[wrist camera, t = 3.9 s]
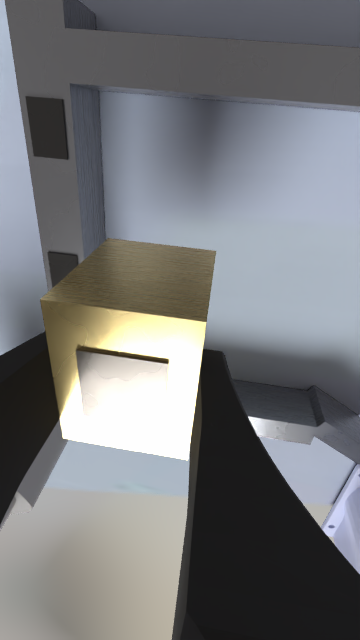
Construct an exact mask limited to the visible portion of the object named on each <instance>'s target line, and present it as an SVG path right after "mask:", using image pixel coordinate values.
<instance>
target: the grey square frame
mask: <svg viewBox="0 0 360 640" xmlns="http://www.w3.org/2000/svg"><path fill="white" fill-rule="evenodd" d="M5 5H6V12H7V18H8V25H9V32H10V39H11V45H12V52H13V59H14V65H15V72H16V79H17V85H18V92H19V99H20V105H21V112H22V119H23V126H24V132H25V139H26V146H27V152H28V159H29V166H30V172H31V179H32V186H33V192H34V199H35V206H36V213H37V219H38V226H39V233H40V239H41V246H42V253H43V259H44V266H45V273H46V279H47V286H48V292H49V291H50V290H51V289H52V288H53V287H54V286H56V285H57V284H58V283H59V282H60V281H61V280H62V279H63V278H64V277H66V276H67V275H68V274H69V273H70V272H71V271H72V270H73V269H74V268H76V267H77V266H78V265H79V264H80V263H81V262H82V261H83V260H84V259H86V258H87V257H88V256H89V255H90V254H91V253H92V252H93V251H94V250H96V249H97V248H98V247H99V246H100V245H101V244H102V243H103V242H104V241H105V220H104V197H103V175H102V152H101V130H100V107H99V91H109V92H121V93H133V94H145V95H158V96H170V97H182V98H194V99H207V100H219V101H231V102H243V103H256V104H268V105H280V106H292V107H305V108H317V109H329V110H341V111H354V112H360V48H357V47H342V46H327V45H312V44H297V43H282V42H267V41H252V40H237V39H221V38H206V37H191V36H176V35H161V34H146V33H131V32H116V31H101V30H96V18H95V13H93V12H92V11H91V10H90V9H88V8H87V7H86V6H85V5H83V4H82V3H81V2H80V1H78V0H5ZM232 381H233V384H234V386H235V389H236V391H237V394H238V396H239V398H240V401H241V403H242V405H243V408H244V410H245V412H246V414H247V416H248V418H249V420H250V422H251V424H252V426H253V428H254V430H255V432H256V433H257V435H258V436H259V437H265V438H271V439H277V440H284V441H290V442H296V443H302V444H308V445H310V444H311V442H312V440H313V437H314V436H315V437H317V438H318V439H320V440H321V441H323V442H324V443H326V444H328V445H329V446H331V447H332V448H334V449H335V450H337V451H338V452H340V453H342V454H343V455H345V456H346V457H348V458H349V459H351V460H352V461H354V462H356V463H357V464H360V417H359V416H358V415H357V414H355V413H354V412H352V411H351V410H350V409H348V408H347V407H345V406H344V405H342V404H341V403H339V402H338V401H336V400H335V399H333V398H332V397H330V396H329V395H328V394H326V393H325V392H323V391H322V390H320V389H319V388H317V387H316V386H312V387H311V388H310V389H308V390H307V391H306V390H299V389H293V388H286V387H279V386H273V385H266V384H259V383H253V382H246V381H239V380H233V379H232Z"/></svg>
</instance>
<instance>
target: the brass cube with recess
mask: <svg viewBox="0 0 360 640" xmlns="http://www.w3.org/2000/svg"><path fill="white" fill-rule="evenodd" d="M215 256H216V251H212V250H204V249H195V248H187V247H178V246H170V245H162V244H153V243H145V242H136V241H128V240H119V239H111V238H108V239H107V240H106V241H104V242H103V243H102V244H101V245H100V246H99V247H98V248H97V249H96V250H94V251H93V252H92V253H91V254H90V255H89V256H88V257H87V258H86V259H84V260H83V261H82V262H81V263H80V264H79V265H78V266H77V267H76V268H74V269H73V270H72V271H71V272H70V273H69V274H68V275H67V276H66V277H64V278H63V279H62V280H61V281H60V282H59V283H58V284H57V285H56V286H54V287H53V288H52V289H51V290H50V291H49V292H48V293H47V294H46V295H44V296H43V297H42V298H41V299H40V302H41V308H42V314H43V320H44V326H45V332H46V338H47V344H48V350H49V356H50V362H51V368H52V374H53V380H54V386H55V392H56V398H57V404H58V410H59V416H60V422H61V428H62V434H63V439H69V440H75V441H81V442H87V443H93V444H98V445H104V446H110V447H116V448H122V449H128V450H133V451H139V452H145V453H151V454H157V455H163V456H168V457H174V458H180V459H186V460H188V453H189V446H190V439H191V431H192V424H193V417H194V409H195V402H196V395H197V387H198V380H199V373H200V366H201V358H202V351H203V344H204V336H205V329H206V322H207V314H208V307H209V300H210V292H211V285H212V278H213V270H214V263H215Z"/></svg>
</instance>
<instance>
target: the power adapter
mask: <svg viewBox="0 0 360 640" xmlns="http://www.w3.org/2000/svg"><path fill="white" fill-rule="evenodd" d="M68 440H69V439H63V434H62V428H61V422H60V419H59V421H58V422H57V424H56V426H55V427H54V429H53V431H52V432H51V434H50V435H49V437H48V439H47V440H46V442H45V444H44V445H43V447H42V448H41V450H40V452H39V453H38V455H37V457H36V458H35V460H34V461H33V463H32V465H31V466H30V468H29V470H28V471H27V473H26V475H25V477H24V478H23V480H22V482H21V484H20V486H19V487H18V489H17V492H16V494H15V496H14V498H13V500H12V502H11V504H10V506H9V508H8V510H7V512H6V514H5V516H4V518H3V520H2V522H1V524H0V531H1V529H2V527H3V526H4V524H5V522H6V520H7V519H8V517H9V515H10V514H19V513H28V512H30V511H31V510H32V508H33V507H34V504H35V503H36V501H37V499H38V497H39V495H40V493H41V491H42V489H43V488H44V486H45V484H46V482H47V480H48V478H49V476H50V474H51V472H52V470H53V468H54V466H55V465H56V463H57V461H58V459H59V457H60V455H61V453H62V451H63V449H64V447H65V445H66V444H67V442H68Z"/></svg>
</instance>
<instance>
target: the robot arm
mask: <svg viewBox="0 0 360 640" xmlns="http://www.w3.org/2000/svg"><path fill="white" fill-rule="evenodd" d="M59 419H60V416H59V410H58V404H57V398H56V392H55V386H54V380H53V374H52V368H51V362H50V356H49V350H48V344H47V338H46V332H43V333H41V334H40V335H38V336H36V337H34V338H32V339H30V340H28V341H27V342H25V343H23V344H21V345H19V346H17V347H16V348H14V349H12V350H10V351H8V352H6V353H4V354H3V355H1V356H0V524H1V522H2V520H3V518H4V516H5V514H6V512H7V510H8V508H9V506H10V504H11V502H12V500H13V498H14V496H15V494H16V492H17V489H18V487H19V486H20V484H21V482H22V480H23V478H24V477H25V475H26V473H27V471H28V470H29V468H30V466H31V465H32V463H33V461H34V460H35V458H36V457H37V455H38V453H39V452H40V450H41V448H42V447H43V445H44V444H45V442H46V440H47V439H48V437H49V435H50V434H51V432H52V431H53V429H54V427H55V426H56V424H57V422H58V421H59ZM328 536H330V537H333V538H334V542H335V545H334V543H333V542H332V541H331V540H330V539H329V537H328ZM172 640H360V464H357V465H356V466H355V468H354V470H353V472H352V474H351V475H350V477H349V479H348V481H347V482H346V484H345V486H344V488H343V489H342V491H341V493H340V495H339V496H338V498H337V500H336V502H335V503H334V505H333V507H332V509H331V510H330V512H329V514H328V516H327V518H326V519H325V521H324V523H323V525H322V526H321V528H320V526H319V525H318V524H317V522H316V521H315V520H314V518H313V517H312V516H311V514H310V513H309V512H308V510H307V509H306V508H305V506H304V505H303V504H302V502H301V501H300V500H299V498H298V497H297V496H296V494H295V493H294V492H293V490H292V489H291V488H290V486H289V485H288V483H287V482H286V480H285V479H284V477H283V476H282V474H281V473H280V471H279V470H278V468H277V467H276V465H275V464H274V462H273V461H272V459H271V457H270V456H269V454H268V452H267V451H266V449H265V447H264V446H263V444H262V442H261V441H260V439H259V437H258V435H257V433H256V432H255V430H254V428H253V426H252V424H251V422H250V420H249V418H248V416H247V414H246V412H245V410H244V408H243V405H242V403H241V401H240V398H239V396H238V394H237V391H236V389H235V386H234V384H233V381H232V378H231V375H230V373H229V369H228V366H227V362H226V358H225V355H224V353H223V352H221V351H214V350H207V349H203V351H202V358H201V366H200V373H199V380H198V387H197V395H196V402H195V409H194V417H193V424H192V431H191V442H190V467H189V492H188V509H187V521H186V530H185V537H184V545H183V554H182V561H181V570H180V578H179V586H178V595H177V602H176V610H175V618H174V626H173V634H172Z"/></svg>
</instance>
